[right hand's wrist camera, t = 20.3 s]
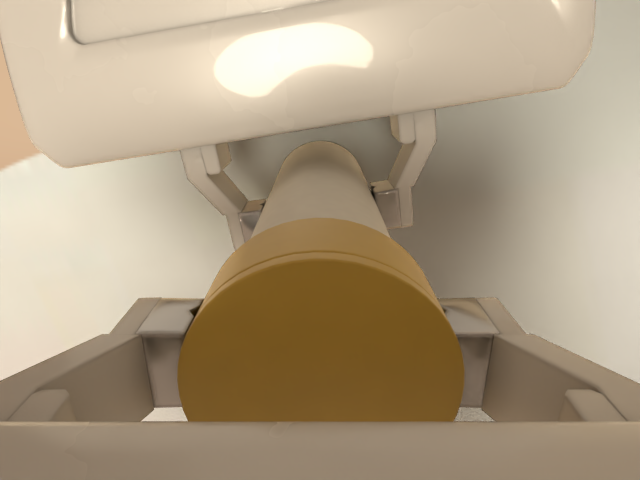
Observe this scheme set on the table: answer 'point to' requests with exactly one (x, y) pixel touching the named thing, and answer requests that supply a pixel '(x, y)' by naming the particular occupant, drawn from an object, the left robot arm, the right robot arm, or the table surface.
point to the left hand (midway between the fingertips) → (324, 234)
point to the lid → (320, 333)
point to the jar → (320, 189)
